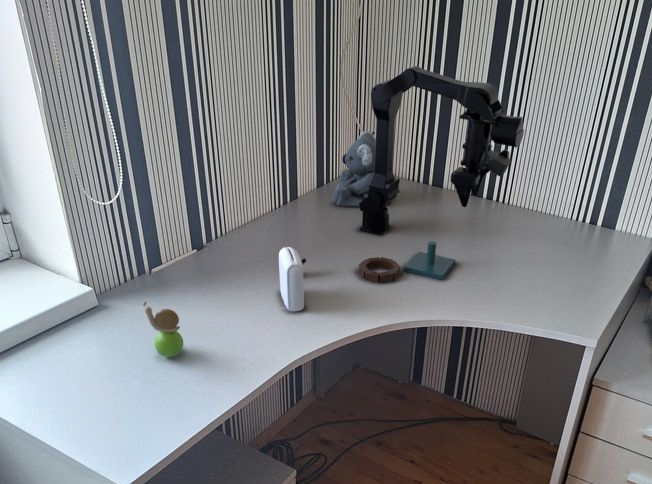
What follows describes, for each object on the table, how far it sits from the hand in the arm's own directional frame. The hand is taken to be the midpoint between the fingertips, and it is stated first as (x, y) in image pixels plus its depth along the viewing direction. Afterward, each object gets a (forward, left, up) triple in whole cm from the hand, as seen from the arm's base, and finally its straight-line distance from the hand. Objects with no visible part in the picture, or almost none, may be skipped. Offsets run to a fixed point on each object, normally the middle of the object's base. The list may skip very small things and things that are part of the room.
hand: (469, 200), depth 174 cm
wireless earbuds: (-32, -33, -14) cm, 48 cm away
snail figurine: (-38, -74, -14) cm, 84 cm away
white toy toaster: (-27, -44, -14) cm, 53 cm away
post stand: (-5, -13, -14) cm, 20 cm away
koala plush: (-39, +21, -14) cm, 46 cm away
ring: (-15, -22, -14) cm, 30 cm away
